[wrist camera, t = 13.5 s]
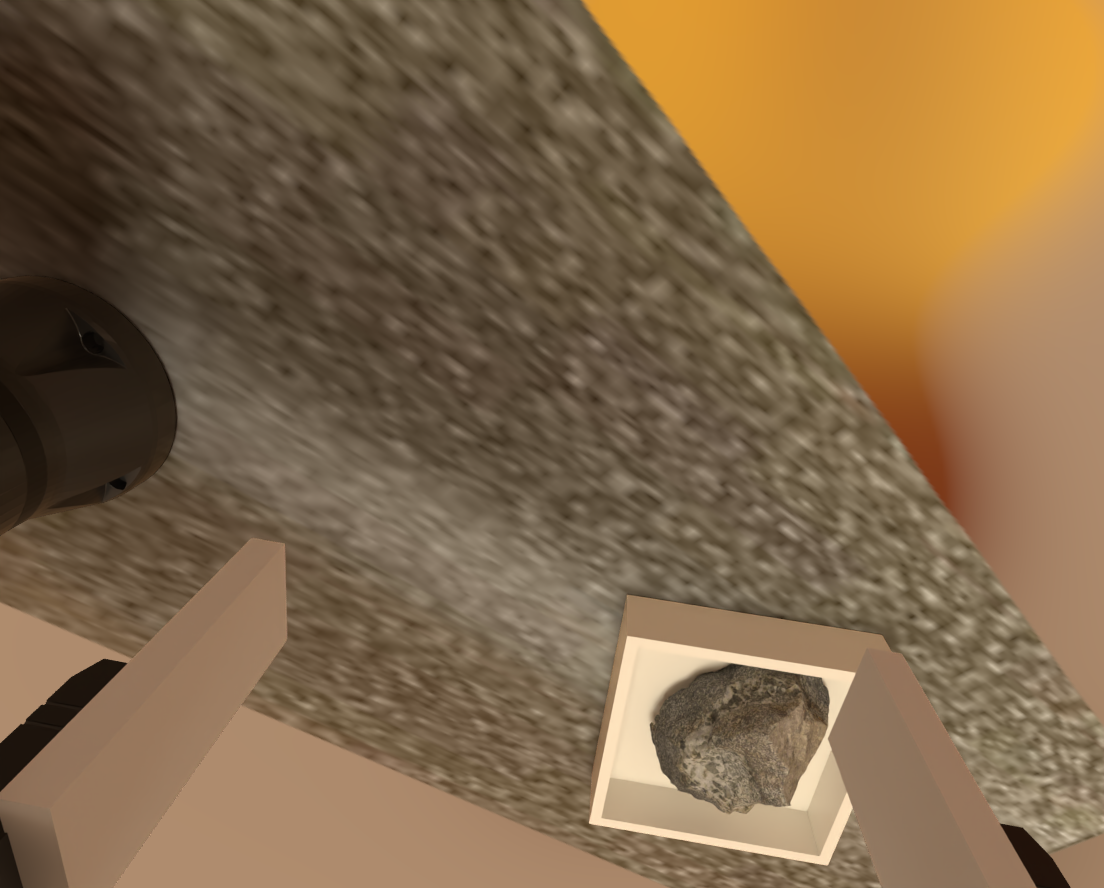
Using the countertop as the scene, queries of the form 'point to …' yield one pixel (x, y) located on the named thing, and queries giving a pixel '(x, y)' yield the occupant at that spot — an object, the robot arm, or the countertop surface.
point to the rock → (741, 735)
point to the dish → (672, 664)
